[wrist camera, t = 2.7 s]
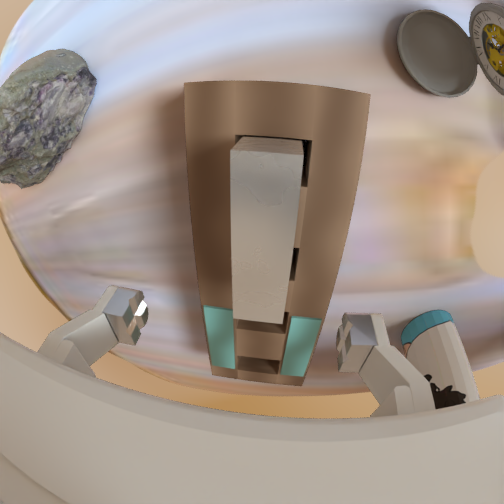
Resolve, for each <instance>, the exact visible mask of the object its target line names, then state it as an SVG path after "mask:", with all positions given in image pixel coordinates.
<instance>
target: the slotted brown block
mask: <svg viewBox="0 0 504 504" xmlns="http://www.w3.org/2000/svg"><path fill="white" fill-rule="evenodd" d="M369 104H370V94H366V93H361V92H356V91H351V90H345V89H339V88H332V87H325V86H317V85H308V84H299V83H287V82H271V81H204V82H188V83H184V109H185V136H186V156H187V172H188V187H189V200H190V211H191V222H192V233H193V243H194V252H195V261H196V269H197V277H198V285H199V293H200V300H201V308H202V315H203V321H204V328H205V335H206V341H207V347H208V353H209V359H210V365H211V370H212V375H216V376H222V377H228V378H234V379H241V380H248V381H256V382H264V383H273V384H283V385H295V386H302V384H303V381H304V379H305V376H306V373H307V370H308V368H309V365H310V362H311V359H312V356H313V353H314V350H315V347H316V344H317V341H318V338H319V335H320V332H321V329H322V326H323V322H324V319H325V316H326V313H327V309H328V306H329V303H330V299H331V296H332V292H333V289H334V285H335V281H336V278H337V274H338V270H339V266H340V262H341V258H342V254H343V250H344V246H345V242H346V238H347V233H348V229H349V225H350V220H351V215H352V211H353V206H354V201H355V196H356V191H357V185H358V180H359V174H360V168H361V162H362V156H363V150H364V143H365V136H366V129H367V121H368V113H369ZM246 135H255V136H271V137H284V138H295V139H305V140H308V143H307V154H306V164H305V167H303V168H302V178H301V188H300V197H299V206H298V215H297V223H296V231H295V239H294V247H293V248H296V249H293V255H292V262H291V270H290V277H289V284H288V291H287V298H286V304H285V311H284V317H283V323H282V324H277V323H268V322H259V321H251V320H243V319H235V318H233V299H232V260H231V195H230V150H231V149H232V148H233V147H234V146H235V145H236V143H237V142H238V141H239V140H240V139H241V138H242V137H246Z"/></svg>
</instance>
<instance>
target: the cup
mask: <svg viewBox="0 0 504 504" xmlns="http://www.w3.org/2000/svg"><path fill="white" fill-rule="evenodd" d="M401 340H402V345H403V349H404V353H405V357H406V359H407V360H408V361H409V362H410V363H411V364H412V365H413V366H414V367H415V368H416V369H417V370H418V371H419V372H420V373H421V374H422V375H423V376H424V377H425V378H426V379H427V380H428V382H429V383H430V387H431V391H432V395H433V400H434V404H435V409H441V408H446V407H451V406H456V405H460V404H464V403H469V402H473V401H476V400H480V397H479V394H478V390H477V386H476V383H475V380H474V376H473V373H472V370H471V367H470V364H469V361H468V358H467V355H466V352H465V350H464V347H463V344H462V342H461V339H460V337H459V334H458V331H457V329H456V327H455V324H454V322H453V319H452V317H451V315H450V314H449V313H448V312H446V311H443V310H434V311H430V312H427V313H424V314H422V315H420V316H418V317H417V318H415V319H414V320H412V321H411V322H410V323H409V324H408V325H407V326H406V328H405V329H404V330H403V332H402V335H401Z"/></svg>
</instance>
